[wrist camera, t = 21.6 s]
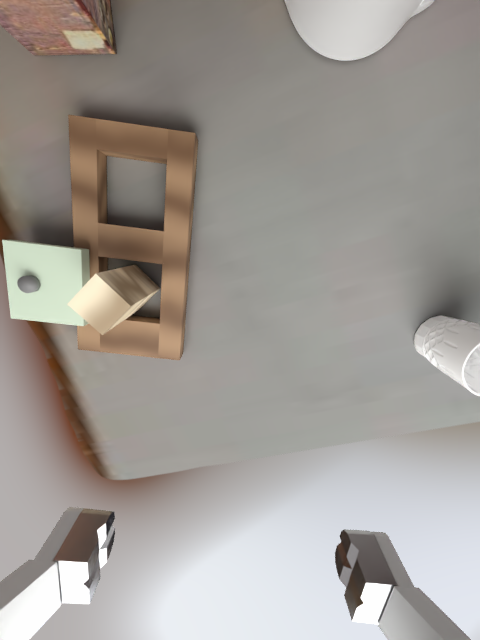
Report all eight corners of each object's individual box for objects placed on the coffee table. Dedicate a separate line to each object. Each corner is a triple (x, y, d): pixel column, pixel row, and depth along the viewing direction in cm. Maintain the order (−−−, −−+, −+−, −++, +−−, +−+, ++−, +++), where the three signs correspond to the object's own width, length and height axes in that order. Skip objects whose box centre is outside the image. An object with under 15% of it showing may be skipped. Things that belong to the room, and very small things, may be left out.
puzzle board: (80, 124, 33) (68, 114, 30) (198, 140, 33) (195, 132, 31) (87, 342, 40) (78, 349, 38) (182, 353, 41) (179, 360, 38)
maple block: (114, 286, 38) (67, 304, 28) (135, 264, 37) (95, 273, 27) (138, 309, 39) (102, 335, 28) (160, 288, 38) (130, 306, 28)
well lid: (14, 240, 34) (-6, 239, 31) (89, 249, 34) (76, 249, 31) (21, 314, 36) (4, 320, 33) (90, 322, 37) (79, 328, 34)
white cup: (401, 356, 41) (451, 391, 32) (420, 306, 39) (480, 327, 30) (450, 365, 42) (513, 402, 32) (472, 316, 40) (546, 340, 30)
